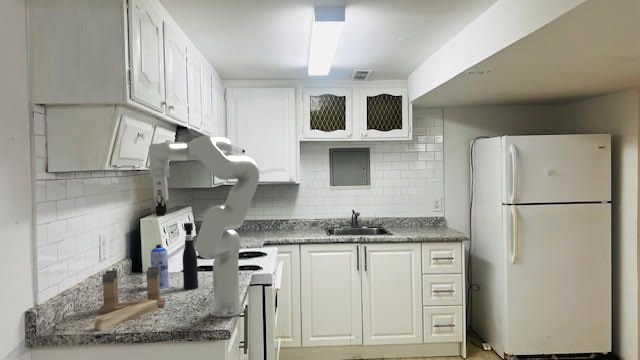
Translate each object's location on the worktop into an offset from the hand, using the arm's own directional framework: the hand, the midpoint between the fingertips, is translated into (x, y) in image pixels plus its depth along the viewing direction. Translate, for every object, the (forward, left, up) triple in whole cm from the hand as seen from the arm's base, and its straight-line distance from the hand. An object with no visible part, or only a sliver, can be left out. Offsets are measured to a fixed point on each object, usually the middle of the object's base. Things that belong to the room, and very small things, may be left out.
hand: (161, 214), depth 186 cm
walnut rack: (-4, +12, -36) cm, 38 cm away
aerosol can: (+26, +4, -36) cm, 45 cm away
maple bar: (-18, +12, -37) cm, 42 cm away
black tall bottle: (+18, -10, -36) cm, 42 cm away
